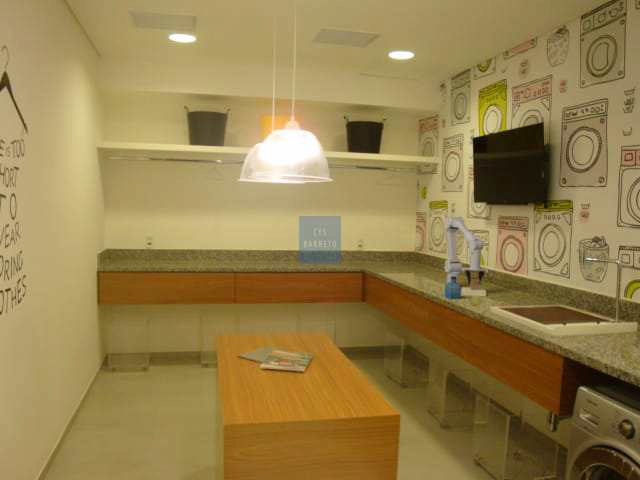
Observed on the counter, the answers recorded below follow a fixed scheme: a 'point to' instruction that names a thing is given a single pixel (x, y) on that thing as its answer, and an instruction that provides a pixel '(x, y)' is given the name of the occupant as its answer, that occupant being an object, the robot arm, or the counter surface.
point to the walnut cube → (474, 283)
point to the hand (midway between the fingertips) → (474, 284)
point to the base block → (473, 291)
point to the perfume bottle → (453, 289)
